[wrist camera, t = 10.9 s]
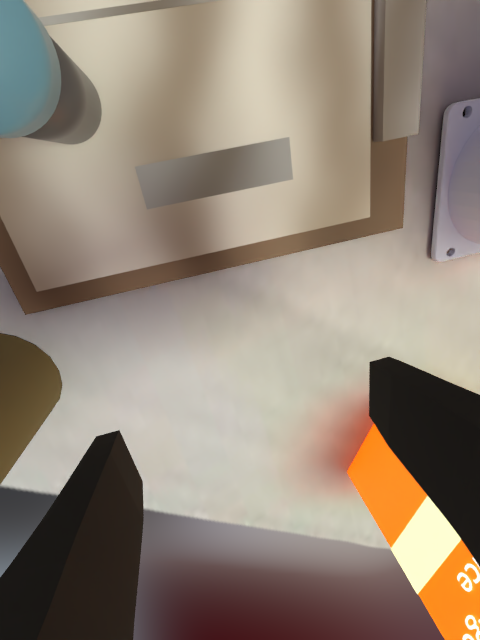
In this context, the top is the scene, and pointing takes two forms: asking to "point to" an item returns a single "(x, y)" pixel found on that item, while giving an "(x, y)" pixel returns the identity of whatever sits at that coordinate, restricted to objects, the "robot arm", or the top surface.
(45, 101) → the marker
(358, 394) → the top surface
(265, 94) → the clipboard
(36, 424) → the cork
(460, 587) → the orange juice
